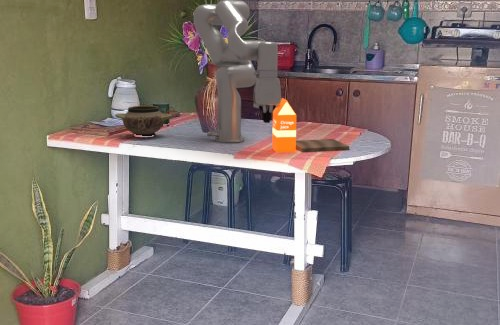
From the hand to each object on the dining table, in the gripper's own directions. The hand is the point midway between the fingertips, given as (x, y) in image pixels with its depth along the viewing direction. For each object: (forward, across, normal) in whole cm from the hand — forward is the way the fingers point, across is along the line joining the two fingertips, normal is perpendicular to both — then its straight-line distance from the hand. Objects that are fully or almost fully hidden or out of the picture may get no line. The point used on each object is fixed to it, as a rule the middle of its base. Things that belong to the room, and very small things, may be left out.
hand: (266, 122), depth 231 cm
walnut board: (+11, +23, +2) cm, 25 cm away
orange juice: (+12, +7, 0) cm, 14 cm away
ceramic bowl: (+11, -43, +40) cm, 60 cm away
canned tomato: (+11, -33, +68) cm, 76 cm away
